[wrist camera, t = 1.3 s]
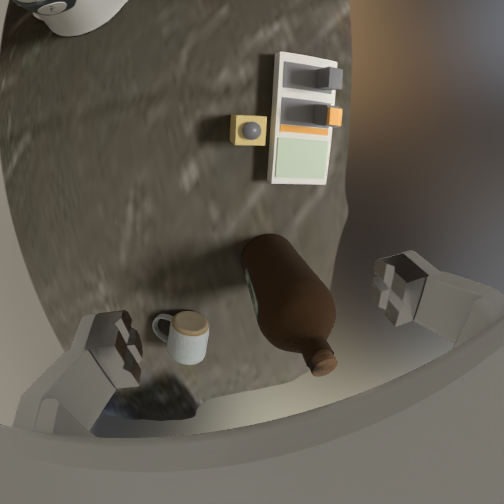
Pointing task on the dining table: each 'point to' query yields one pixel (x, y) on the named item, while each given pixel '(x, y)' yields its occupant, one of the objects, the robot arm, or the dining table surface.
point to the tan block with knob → (248, 130)
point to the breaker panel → (298, 122)
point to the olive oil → (290, 301)
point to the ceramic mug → (185, 336)
